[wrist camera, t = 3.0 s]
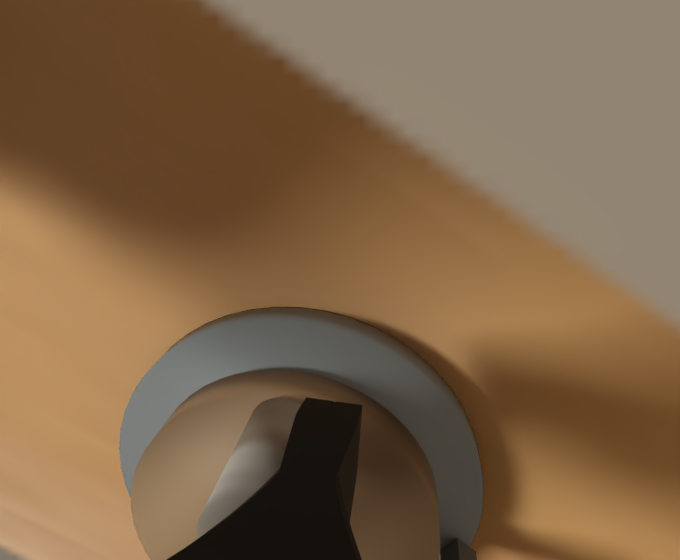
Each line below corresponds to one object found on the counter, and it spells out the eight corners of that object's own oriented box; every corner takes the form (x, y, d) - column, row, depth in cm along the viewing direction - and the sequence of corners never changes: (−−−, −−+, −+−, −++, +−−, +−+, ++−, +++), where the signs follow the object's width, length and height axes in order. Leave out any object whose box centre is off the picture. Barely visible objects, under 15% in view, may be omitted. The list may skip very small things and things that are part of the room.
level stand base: (79, 464, 18) (-66, 625, 13) (260, 227, 14) (161, 314, 8) (328, 636, 20) (295, 848, 14) (560, 469, 16) (643, 678, 10)
